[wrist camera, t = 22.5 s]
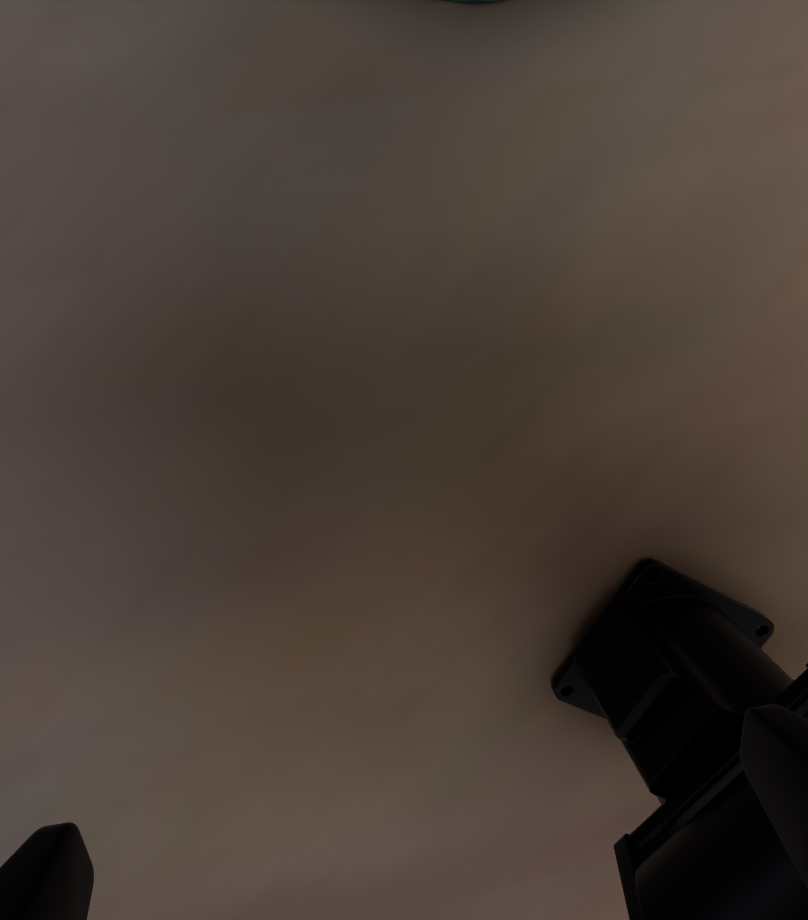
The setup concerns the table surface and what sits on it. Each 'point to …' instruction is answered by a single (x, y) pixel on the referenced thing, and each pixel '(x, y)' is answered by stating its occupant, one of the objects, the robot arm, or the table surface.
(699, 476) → the table surface
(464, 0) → the pot
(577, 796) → the table surface
